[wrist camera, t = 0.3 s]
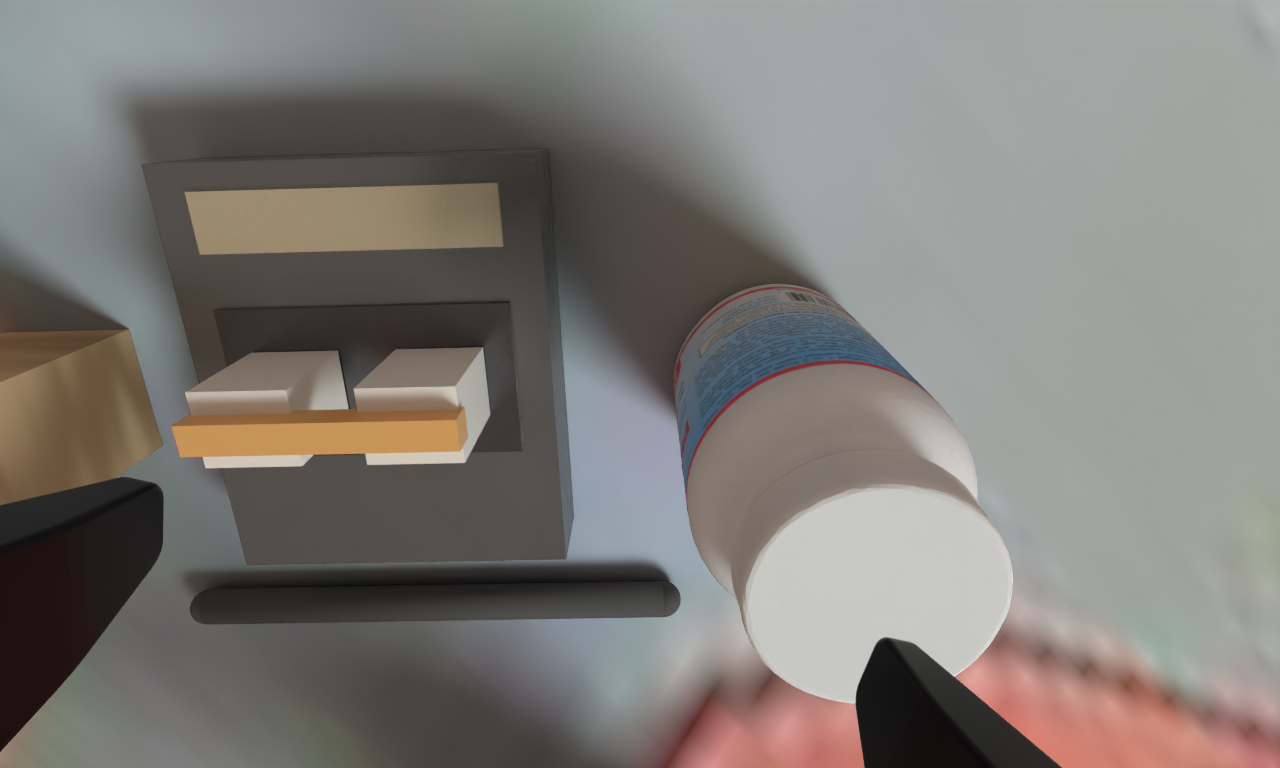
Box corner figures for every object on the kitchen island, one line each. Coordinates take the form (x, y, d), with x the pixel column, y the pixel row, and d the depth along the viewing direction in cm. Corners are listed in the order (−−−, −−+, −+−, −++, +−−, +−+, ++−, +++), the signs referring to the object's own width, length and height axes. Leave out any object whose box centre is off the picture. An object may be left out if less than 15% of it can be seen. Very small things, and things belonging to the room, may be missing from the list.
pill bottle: (633, 368, 23) (621, 589, 12) (786, 238, 21) (924, 360, 11) (754, 494, 24) (836, 788, 14) (904, 381, 23) (1128, 613, 12)
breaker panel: (574, 516, 24) (565, 561, 22) (285, 522, 25) (244, 567, 22) (548, 148, 20) (534, 152, 18) (199, 158, 20) (137, 164, 18)
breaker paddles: (494, 414, 20) (463, 474, 17) (263, 419, 20) (186, 480, 17) (486, 347, 19) (453, 395, 16) (247, 352, 20) (164, 402, 16)
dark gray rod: (679, 602, 26) (681, 624, 25) (207, 609, 26) (187, 631, 25) (679, 573, 25) (681, 595, 24) (199, 581, 26) (178, 603, 24)
